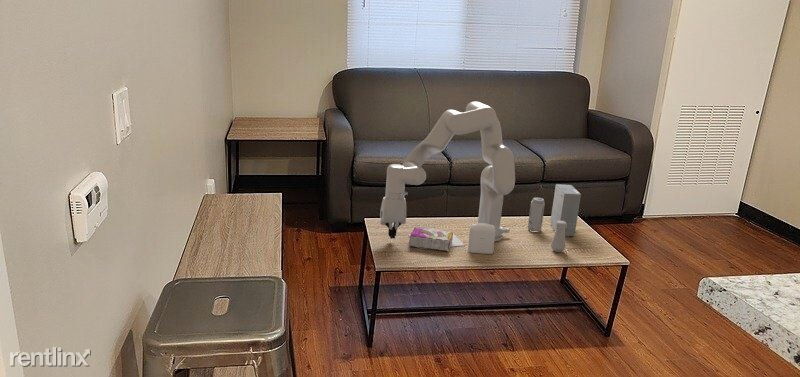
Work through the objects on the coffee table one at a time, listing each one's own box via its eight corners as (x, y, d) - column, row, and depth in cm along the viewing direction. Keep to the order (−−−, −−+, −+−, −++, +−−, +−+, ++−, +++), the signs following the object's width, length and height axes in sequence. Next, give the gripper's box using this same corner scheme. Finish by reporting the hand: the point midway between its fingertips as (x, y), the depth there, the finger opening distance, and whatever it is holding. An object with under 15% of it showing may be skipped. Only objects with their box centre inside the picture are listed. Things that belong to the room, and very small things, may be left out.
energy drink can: (527, 227, 260) (531, 196, 256) (540, 228, 259) (545, 197, 255) (527, 231, 255) (531, 200, 250) (541, 233, 254) (545, 201, 249)
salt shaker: (547, 248, 237) (551, 219, 233) (558, 247, 239) (562, 218, 235) (556, 254, 232) (560, 224, 228) (567, 252, 234) (572, 223, 230)
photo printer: (468, 253, 228) (471, 224, 224) (467, 249, 232) (470, 220, 228) (493, 255, 228) (497, 226, 224) (492, 250, 232) (495, 222, 228)
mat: (451, 232, 249) (451, 231, 249) (464, 245, 235) (464, 245, 235) (408, 234, 243) (408, 234, 243) (418, 248, 229) (418, 248, 229)
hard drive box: (574, 237, 252) (581, 194, 246) (557, 236, 252) (564, 193, 246) (565, 225, 266) (571, 184, 261) (549, 224, 266) (555, 183, 260)
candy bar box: (414, 225, 239) (453, 231, 236) (413, 236, 241) (452, 242, 238) (409, 235, 229) (450, 240, 226) (408, 246, 230) (449, 252, 227)
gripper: (409, 191, 234) (406, 233, 239) (374, 192, 229) (372, 234, 235) (415, 197, 227) (412, 240, 232) (379, 198, 223) (376, 241, 228)
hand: (392, 237), depth 233 cm, fingers closed
